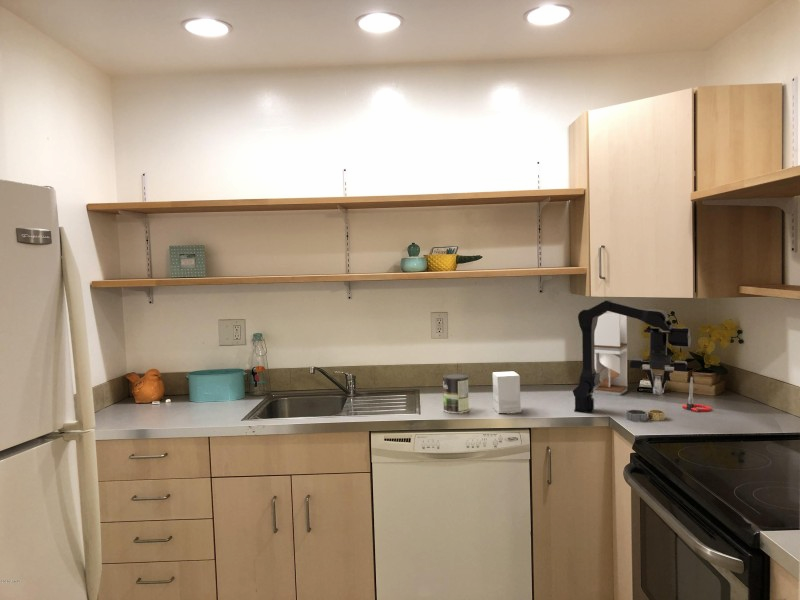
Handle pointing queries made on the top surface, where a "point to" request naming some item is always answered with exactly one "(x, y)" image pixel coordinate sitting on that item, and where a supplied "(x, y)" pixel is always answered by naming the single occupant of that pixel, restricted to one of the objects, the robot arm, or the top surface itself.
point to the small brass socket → (656, 414)
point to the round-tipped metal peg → (657, 384)
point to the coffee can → (455, 393)
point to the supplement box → (506, 392)
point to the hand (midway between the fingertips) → (657, 388)
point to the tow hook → (690, 401)
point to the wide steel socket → (636, 415)
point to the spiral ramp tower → (611, 353)
